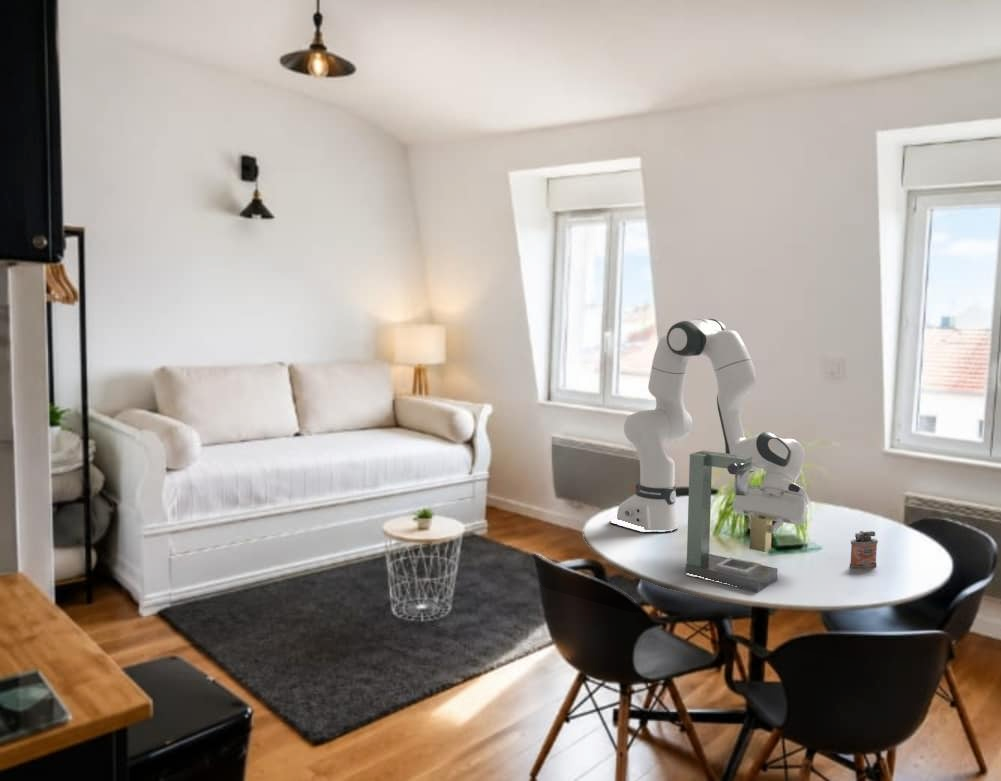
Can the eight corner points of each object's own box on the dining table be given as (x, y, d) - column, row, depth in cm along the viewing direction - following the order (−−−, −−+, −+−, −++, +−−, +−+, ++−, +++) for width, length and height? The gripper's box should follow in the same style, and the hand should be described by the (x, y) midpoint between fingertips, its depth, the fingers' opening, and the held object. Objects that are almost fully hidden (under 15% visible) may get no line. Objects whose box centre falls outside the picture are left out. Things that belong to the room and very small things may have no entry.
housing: (749, 548, 225) (750, 516, 224) (755, 545, 229) (757, 513, 228) (764, 552, 223) (766, 519, 221) (770, 548, 226) (772, 516, 225)
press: (676, 580, 213) (680, 457, 210) (707, 563, 227) (710, 448, 224) (749, 597, 200) (754, 466, 197) (777, 579, 214) (782, 456, 211)
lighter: (855, 569, 222) (856, 534, 221) (846, 565, 226) (848, 531, 225) (879, 567, 225) (881, 532, 224) (870, 563, 228) (872, 528, 227)
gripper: (739, 478, 236) (723, 517, 230) (809, 489, 223) (794, 531, 217) (744, 490, 240) (729, 529, 234) (814, 502, 227) (799, 543, 221)
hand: (761, 530), depth 225 cm, fingers closed on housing, 4 cm apart
